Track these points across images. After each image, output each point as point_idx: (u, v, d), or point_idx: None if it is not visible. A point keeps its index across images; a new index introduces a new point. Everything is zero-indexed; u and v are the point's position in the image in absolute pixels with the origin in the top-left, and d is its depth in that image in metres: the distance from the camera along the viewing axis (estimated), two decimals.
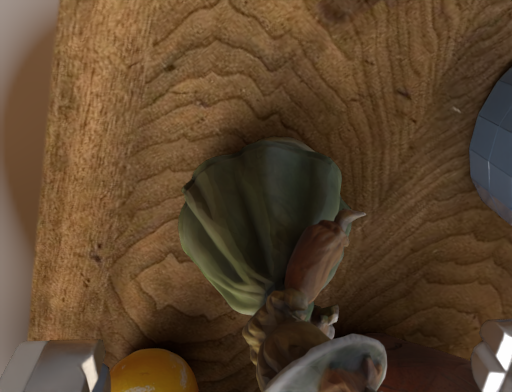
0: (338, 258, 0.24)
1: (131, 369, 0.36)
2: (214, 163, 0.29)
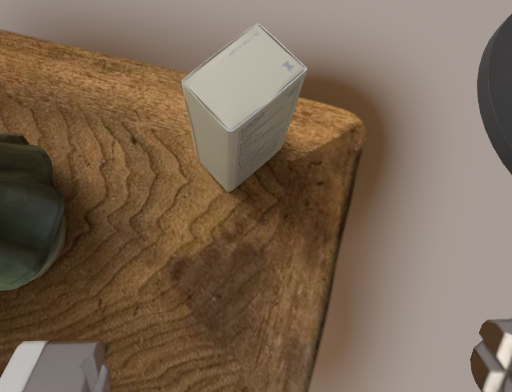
0: None
1: None
2: (44, 160, 0.31)
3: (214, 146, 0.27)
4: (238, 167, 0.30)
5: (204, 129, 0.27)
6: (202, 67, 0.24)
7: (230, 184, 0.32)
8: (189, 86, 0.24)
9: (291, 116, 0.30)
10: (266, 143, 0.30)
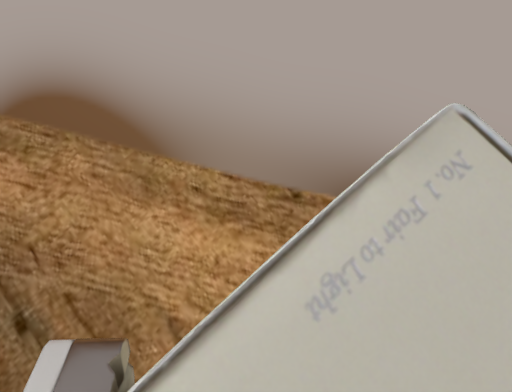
0: None
1: None
2: None
3: None
4: None
5: None
6: None
7: None
8: None
9: None
10: None
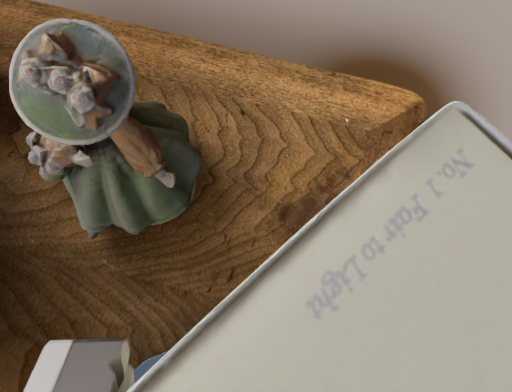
0: (139, 162, 0.30)
1: None
2: (184, 124, 0.40)
3: None
4: None
5: None
6: None
7: None
8: None
9: None
10: None
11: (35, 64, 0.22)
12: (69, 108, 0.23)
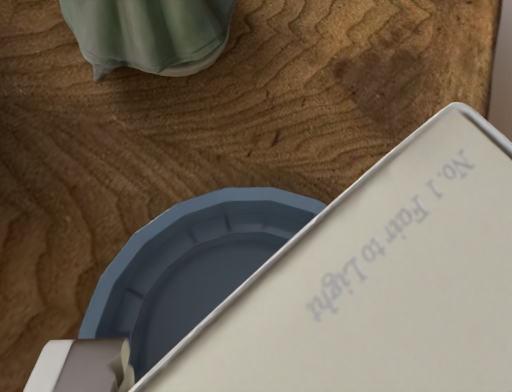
0: None
1: None
2: None
3: None
4: None
5: None
6: None
7: None
8: None
9: None
10: None
11: None
12: None
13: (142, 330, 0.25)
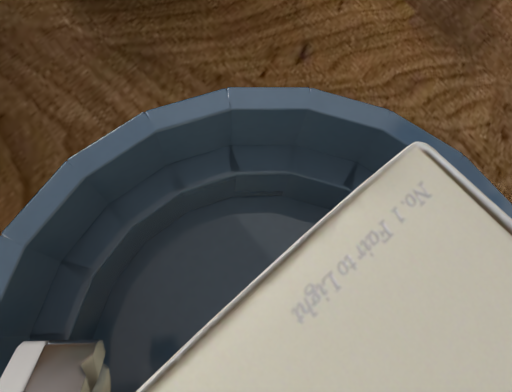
0: None
1: None
2: None
3: None
4: None
5: None
6: None
7: None
8: None
9: None
10: None
11: None
12: None
13: (96, 332, 0.16)
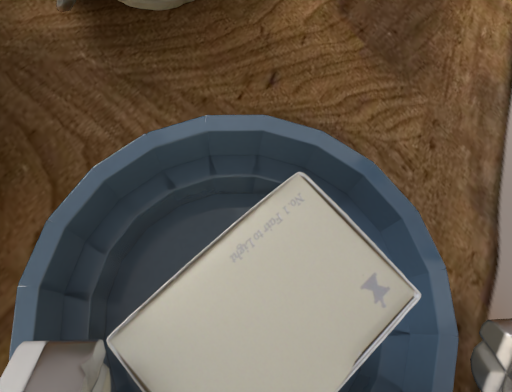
0: None
1: None
2: None
3: None
4: None
5: None
6: (163, 294, 0.09)
7: None
8: (126, 356, 0.09)
9: None
10: None
11: None
12: None
13: (109, 296, 0.21)
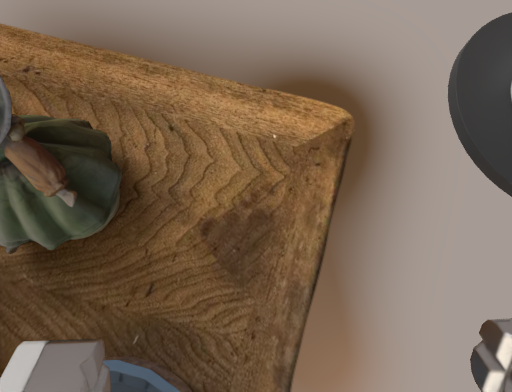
0: (37, 182, 0.31)
1: None
2: (106, 140, 0.40)
3: None
4: None
5: None
6: None
7: None
8: None
9: None
10: None
11: None
12: None
13: None
